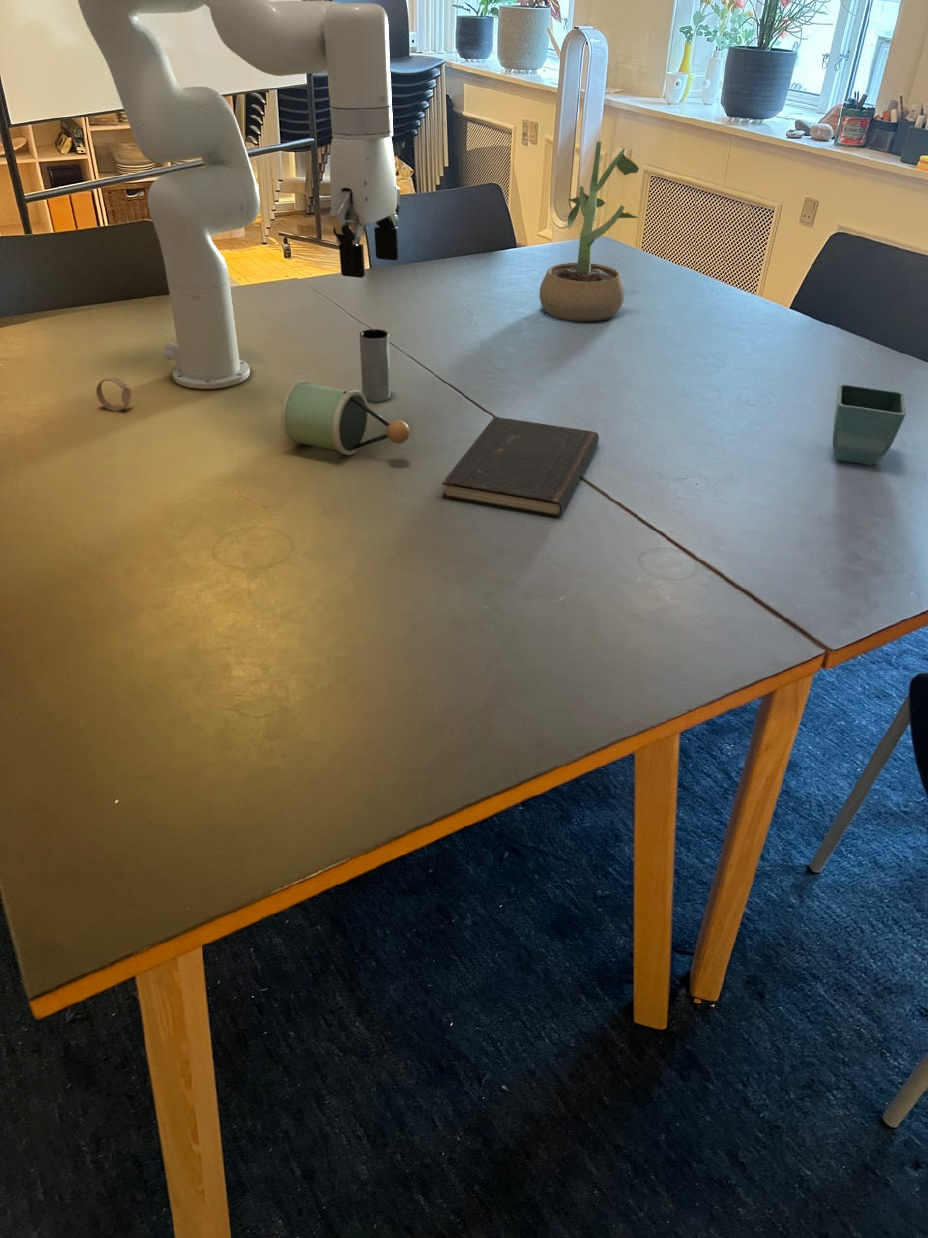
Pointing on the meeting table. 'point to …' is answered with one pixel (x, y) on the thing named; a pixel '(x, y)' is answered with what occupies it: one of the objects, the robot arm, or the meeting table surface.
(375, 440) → the green hollow rimmed cylinder
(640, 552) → the meeting table surface
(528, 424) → the hardcover book
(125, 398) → the brown ring
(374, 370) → the grey hollow tube
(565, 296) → the potted plant
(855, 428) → the flower pot
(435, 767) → the meeting table surface
